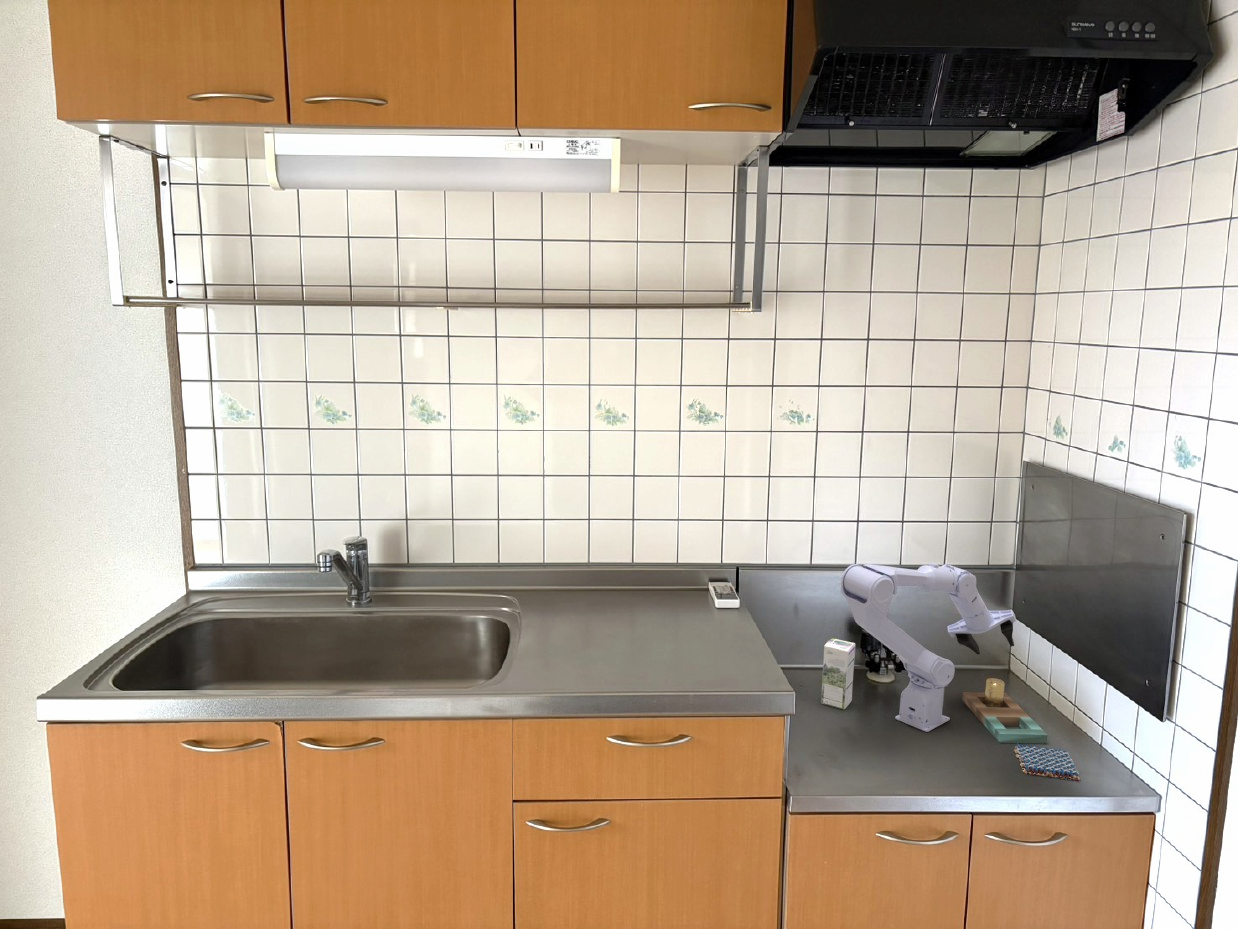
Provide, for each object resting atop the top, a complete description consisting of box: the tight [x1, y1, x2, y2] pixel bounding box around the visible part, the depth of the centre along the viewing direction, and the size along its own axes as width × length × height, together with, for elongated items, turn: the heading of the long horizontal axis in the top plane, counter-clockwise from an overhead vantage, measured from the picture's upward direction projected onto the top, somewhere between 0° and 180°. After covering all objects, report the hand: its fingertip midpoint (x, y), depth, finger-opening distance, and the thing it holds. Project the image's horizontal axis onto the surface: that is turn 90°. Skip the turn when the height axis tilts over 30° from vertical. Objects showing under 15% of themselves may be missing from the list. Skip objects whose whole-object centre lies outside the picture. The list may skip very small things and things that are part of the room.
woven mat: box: [1013, 743, 1081, 781], centre depth 171 cm, size 10×11×2 cm
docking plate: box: [961, 691, 1048, 744], centre depth 189 cm, size 20×10×2 cm, turn 0°
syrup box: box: [820, 638, 856, 710], centre depth 195 cm, size 6×6×14 cm
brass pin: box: [984, 677, 1005, 708], centre depth 193 cm, size 4×4×7 cm
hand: (994, 647), depth 195 cm, fingers open, 7 cm apart
